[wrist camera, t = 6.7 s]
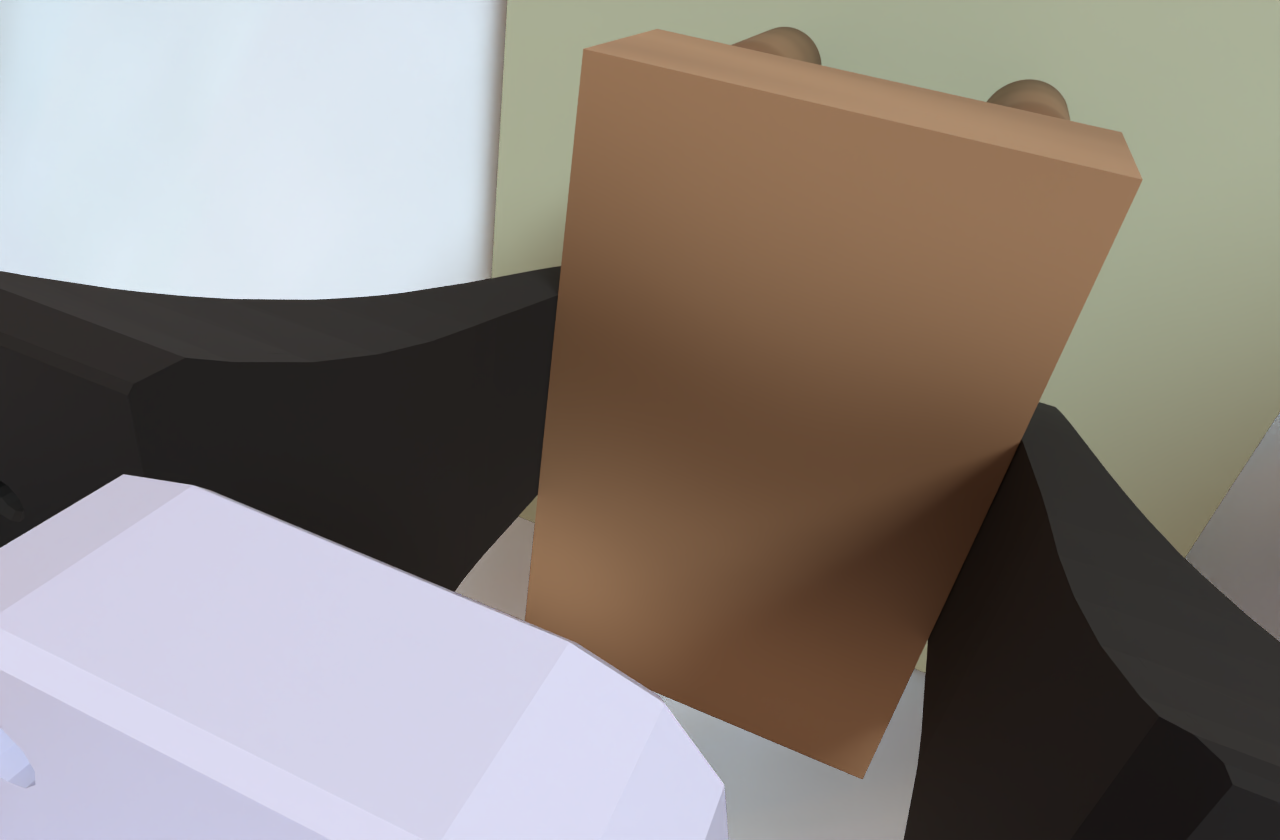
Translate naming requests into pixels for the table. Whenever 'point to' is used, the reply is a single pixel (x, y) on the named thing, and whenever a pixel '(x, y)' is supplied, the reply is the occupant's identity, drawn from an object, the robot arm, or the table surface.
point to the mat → (1095, 95)
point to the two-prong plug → (797, 366)
